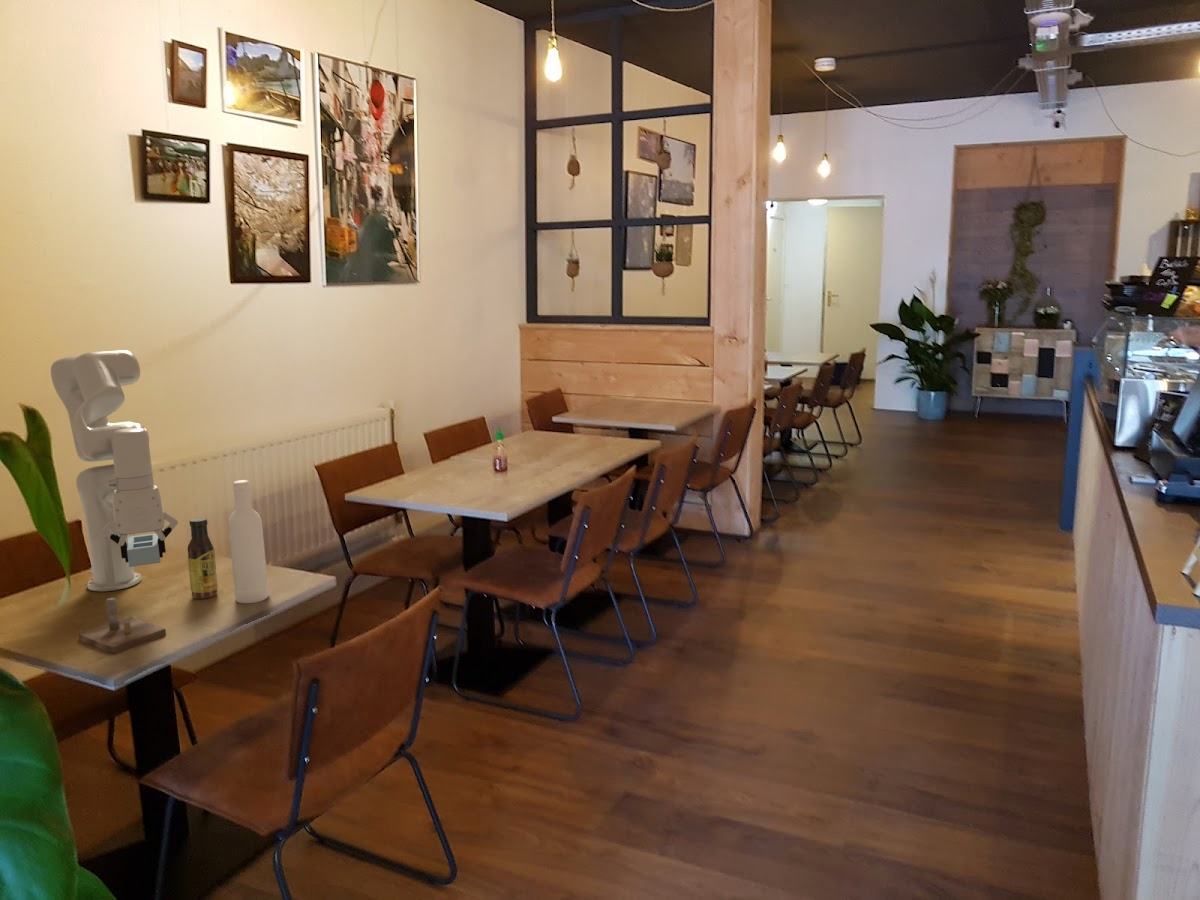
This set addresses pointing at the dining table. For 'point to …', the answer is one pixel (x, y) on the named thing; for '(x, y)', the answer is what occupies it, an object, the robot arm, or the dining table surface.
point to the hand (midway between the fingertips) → (144, 557)
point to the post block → (120, 632)
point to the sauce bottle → (201, 561)
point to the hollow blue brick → (143, 550)
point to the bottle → (247, 548)
